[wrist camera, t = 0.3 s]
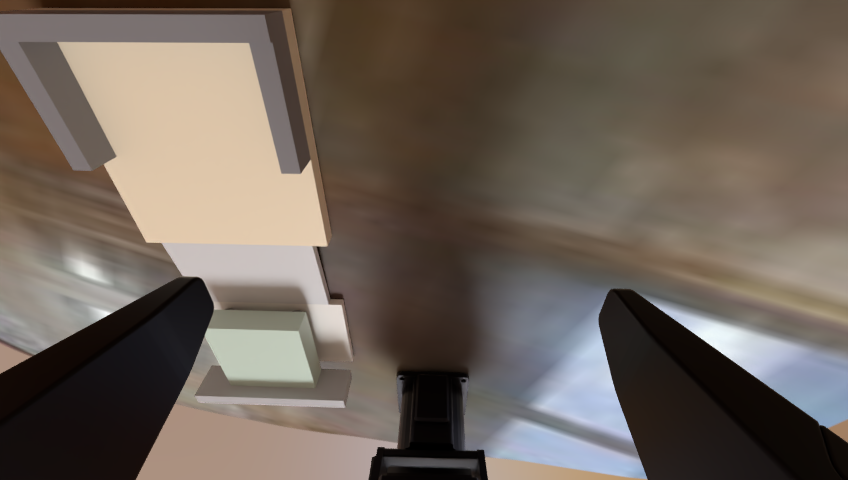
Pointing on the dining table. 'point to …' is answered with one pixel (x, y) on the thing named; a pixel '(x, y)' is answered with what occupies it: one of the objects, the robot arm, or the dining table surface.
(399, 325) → the dining table surface
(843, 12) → the dining table surface
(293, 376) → the green block on base
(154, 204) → the dock
